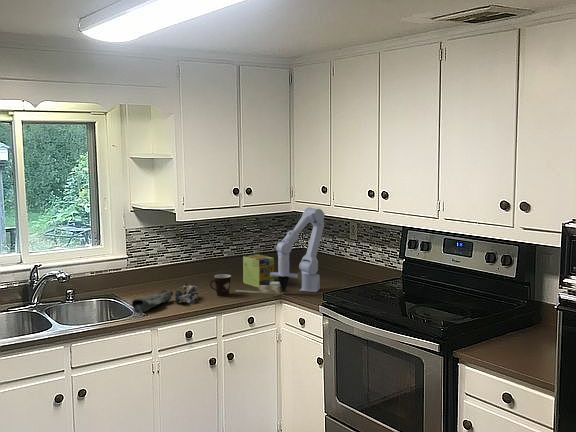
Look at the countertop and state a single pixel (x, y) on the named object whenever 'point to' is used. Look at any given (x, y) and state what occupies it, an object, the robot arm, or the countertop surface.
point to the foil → (189, 291)
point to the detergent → (151, 300)
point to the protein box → (257, 270)
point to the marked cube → (274, 283)
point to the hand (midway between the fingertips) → (283, 290)
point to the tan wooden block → (270, 289)
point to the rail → (256, 292)
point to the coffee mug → (222, 284)
